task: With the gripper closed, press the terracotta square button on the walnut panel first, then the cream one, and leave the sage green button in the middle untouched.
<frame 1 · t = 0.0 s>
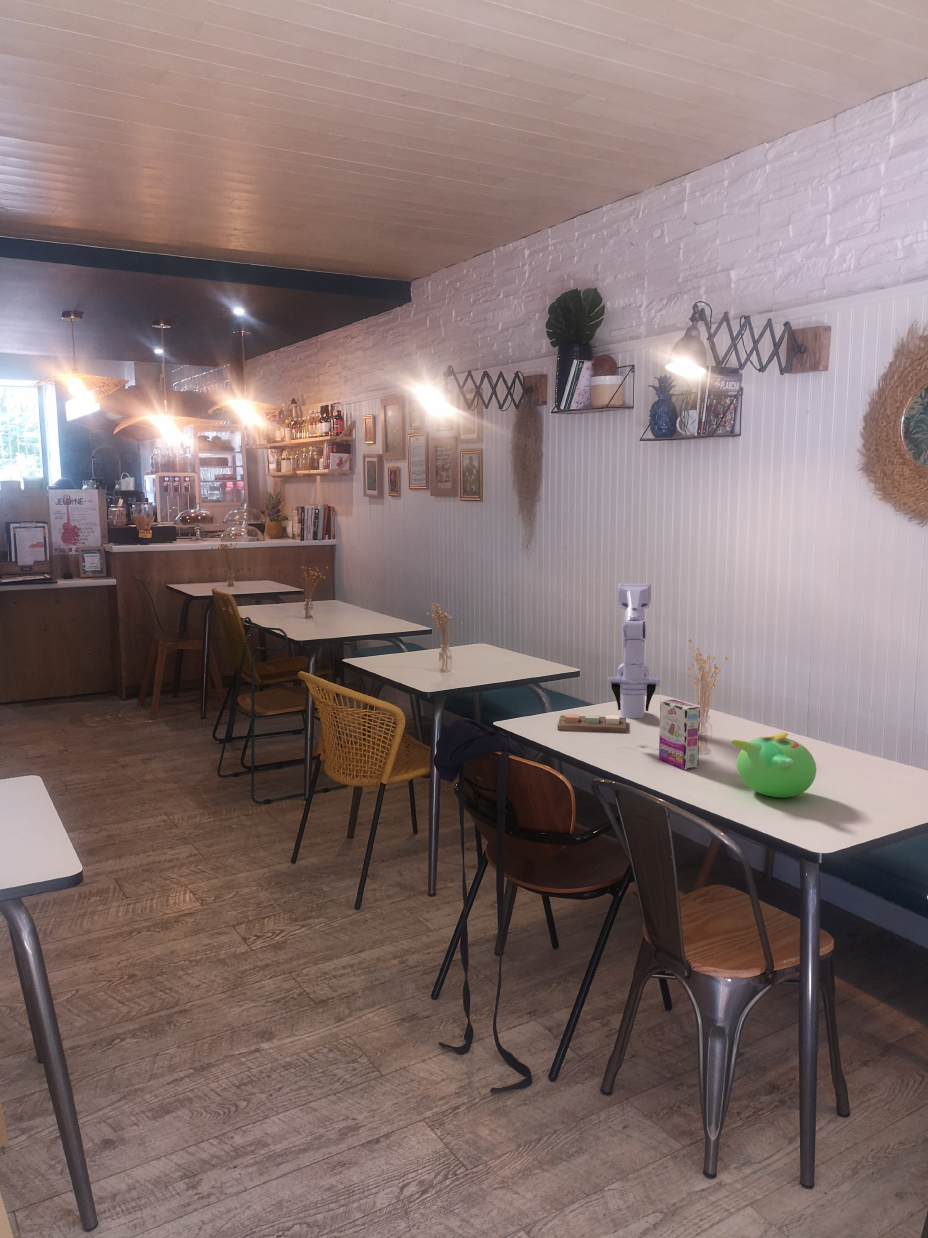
hand: (633, 709, 259), 10 cm above the table, tool pointing down, fingers open, 7 cm apart
terracotta button: (572, 720, 276), point 3 cm above the table, slide at 0.0 cm
button panel: (592, 731, 275), on the table
cream button: (612, 722, 274), point 3 cm above the table, slide at 0.0 cm
toy bird: (773, 796, 217), on the table
sage button: (592, 721, 275), point 3 cm above the table, slide at 0.0 cm
candy bar box: (678, 764, 242), on the table
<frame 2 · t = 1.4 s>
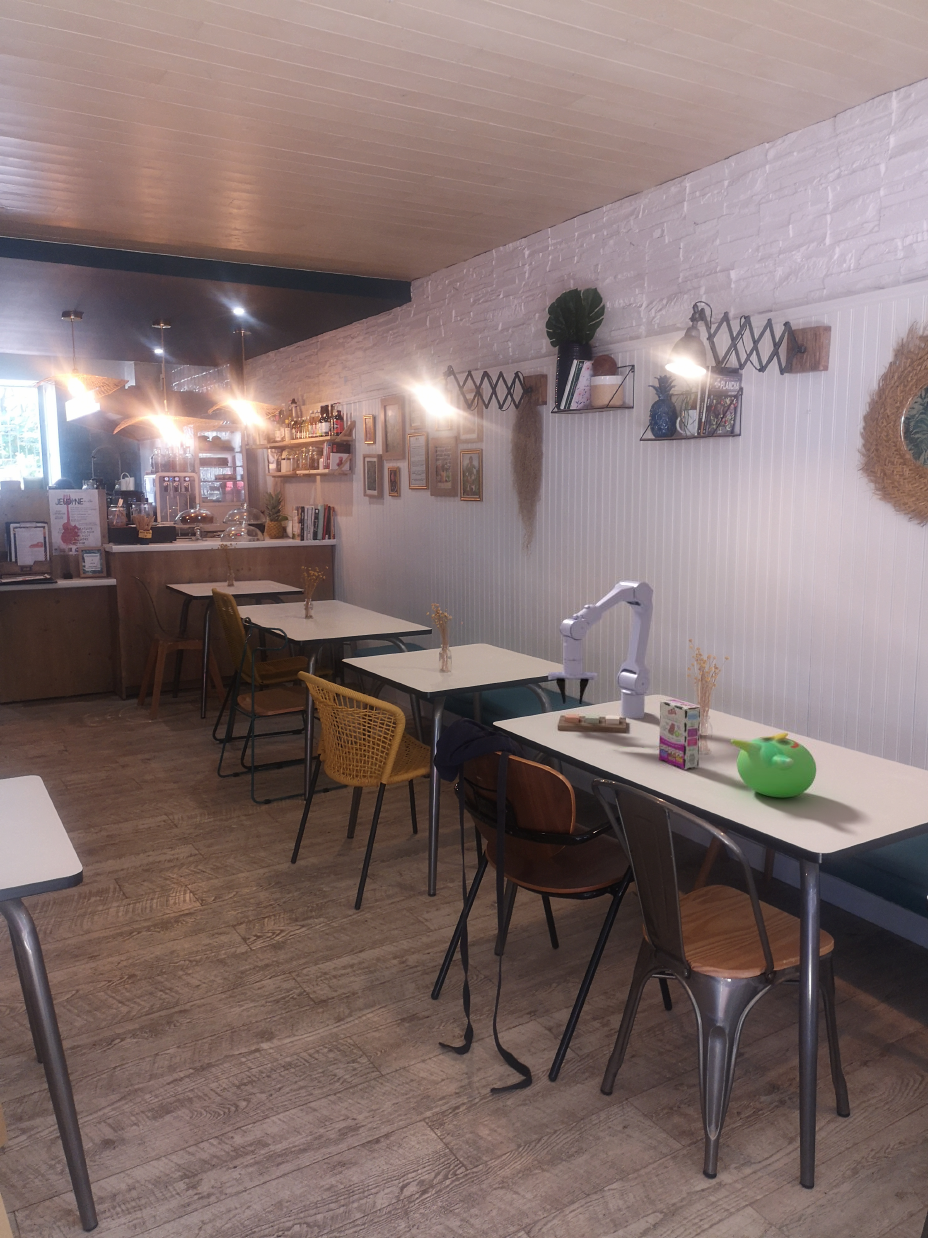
hand: (572, 703, 275), 8 cm above the table, tool pointing down, fingers open, 4 cm apart
nothing on the table moved.
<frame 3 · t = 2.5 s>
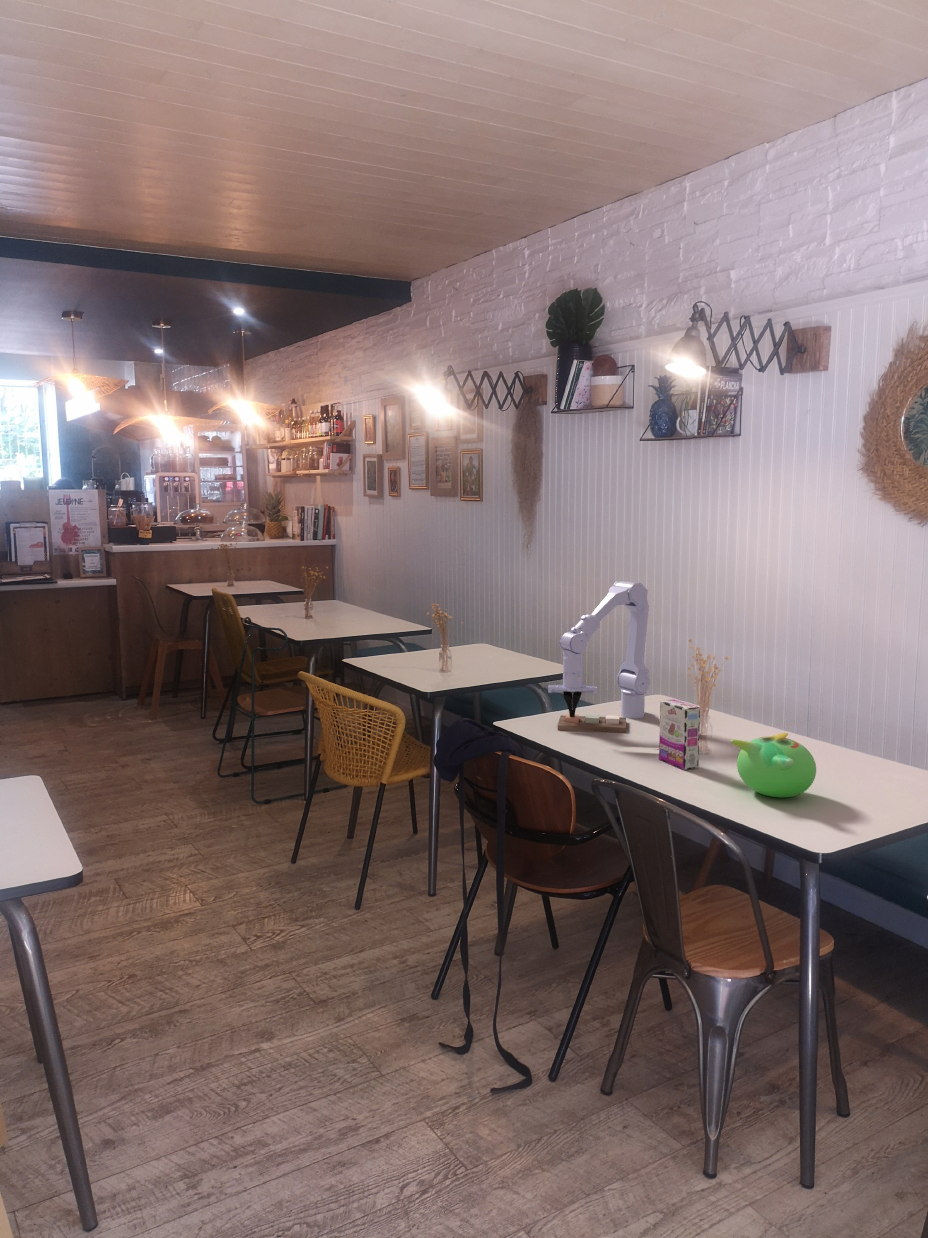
hand: (572, 716, 276), 4 cm above the table, tool pointing down, fingers closed, pressing on terracotta button
terracotta button: (572, 721, 276), point 3 cm above the table, slide at 0.1 cm, touching gripper
everything else where it was.
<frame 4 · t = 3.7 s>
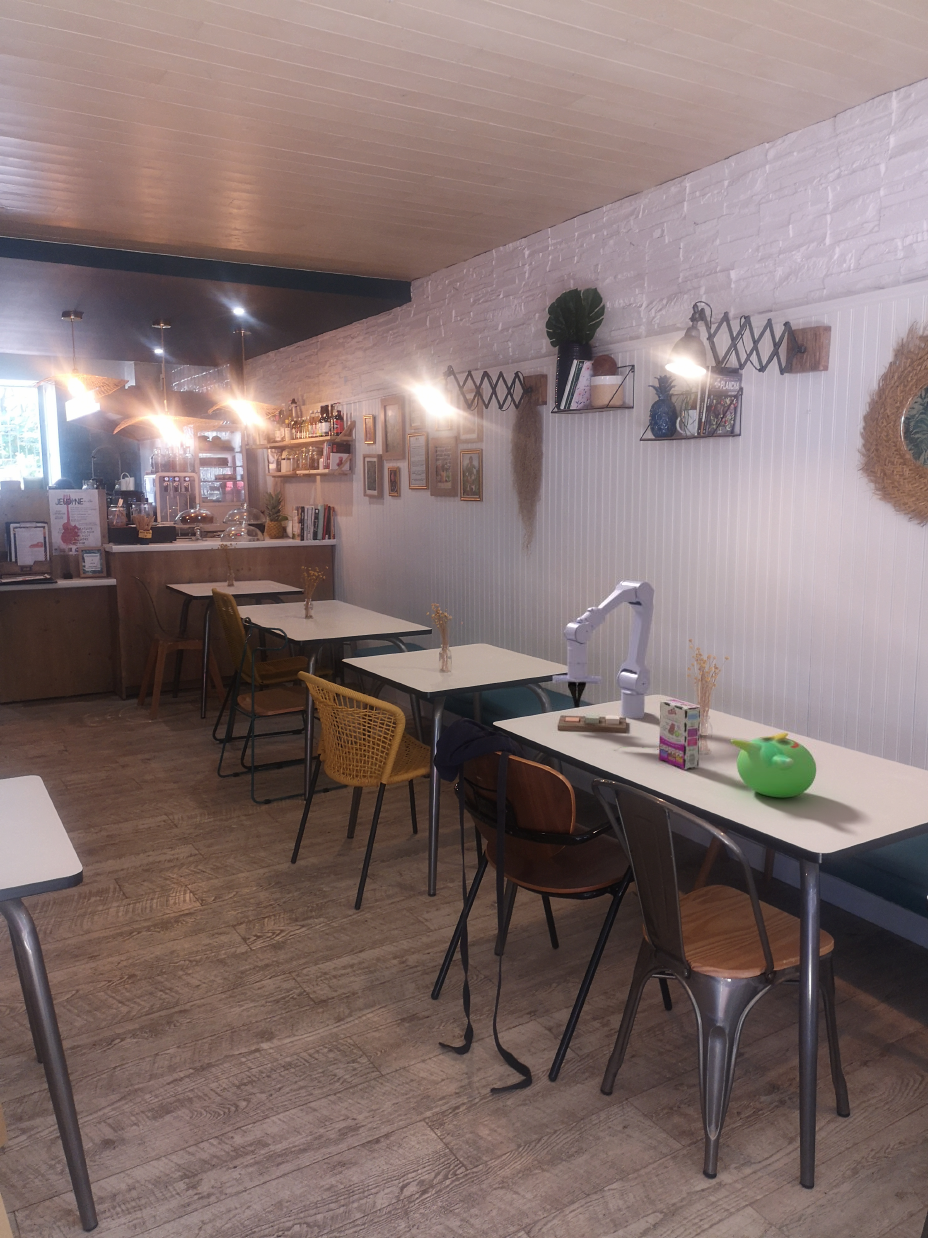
hand: (576, 706, 275), 7 cm above the table, tool pointing down, fingers closed
terracotta button: (572, 723, 276), point 2 cm above the table, slide at 1.0 cm
everything else where it was.
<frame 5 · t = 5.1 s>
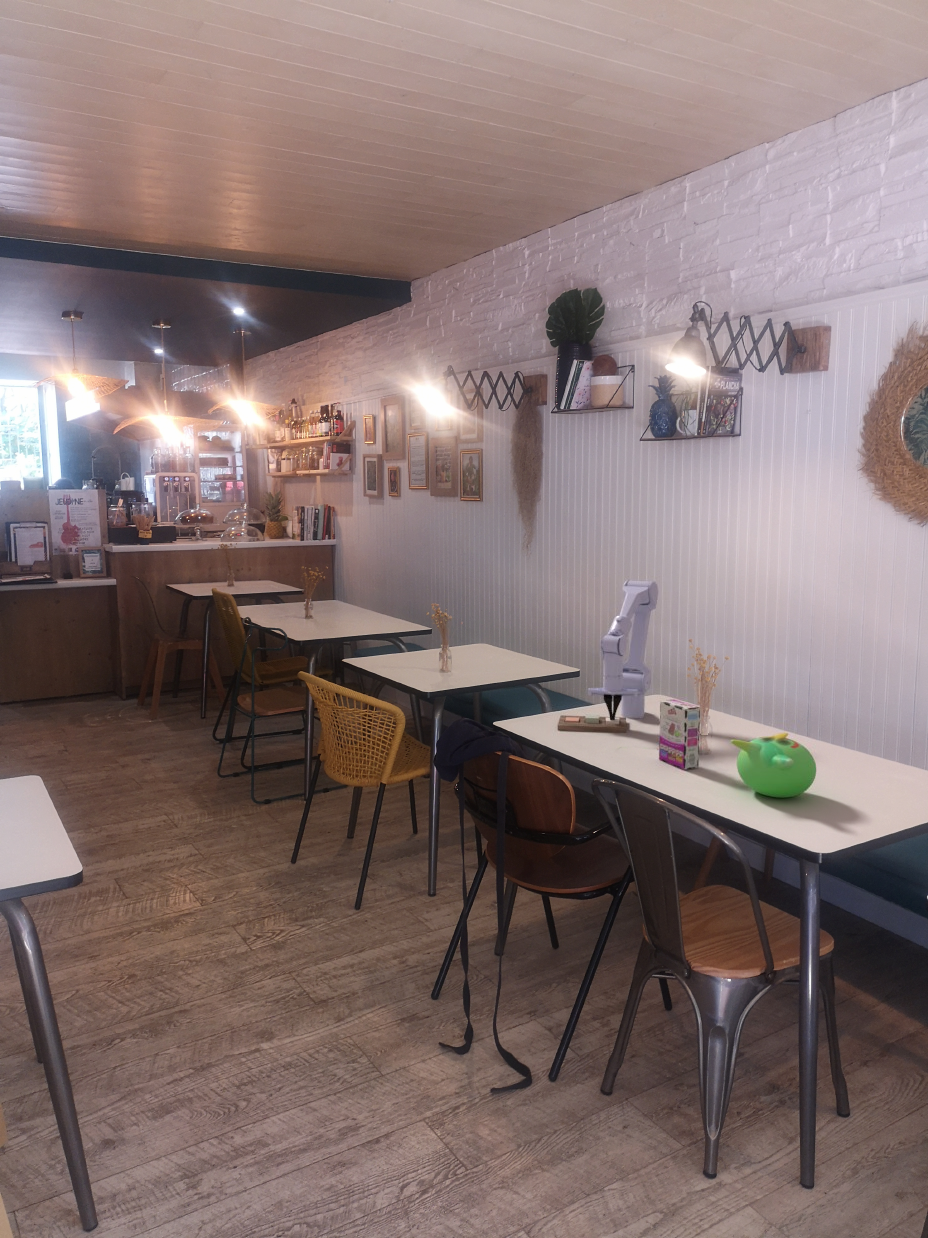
hand: (612, 719, 274), 4 cm above the table, tool pointing down, fingers closed, pressing on cream button
cream button: (612, 724, 274), point 2 cm above the table, slide at 0.7 cm, touching gripper
everything else where it was.
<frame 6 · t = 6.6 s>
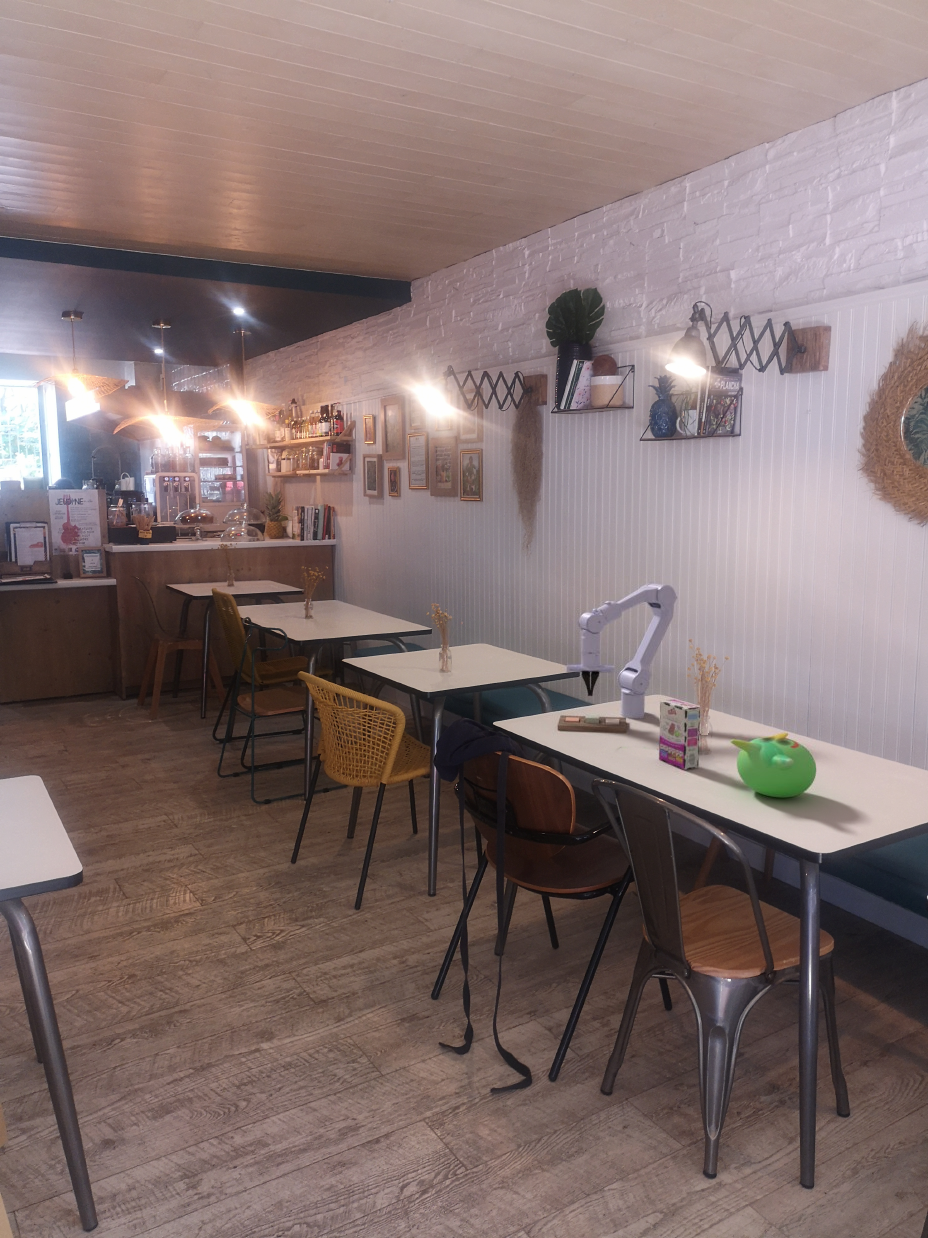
hand: (590, 695, 281), 9 cm above the table, tool pointing down, fingers closed
cream button: (612, 725, 274), point 2 cm above the table, slide at 1.0 cm
everything else where it was.
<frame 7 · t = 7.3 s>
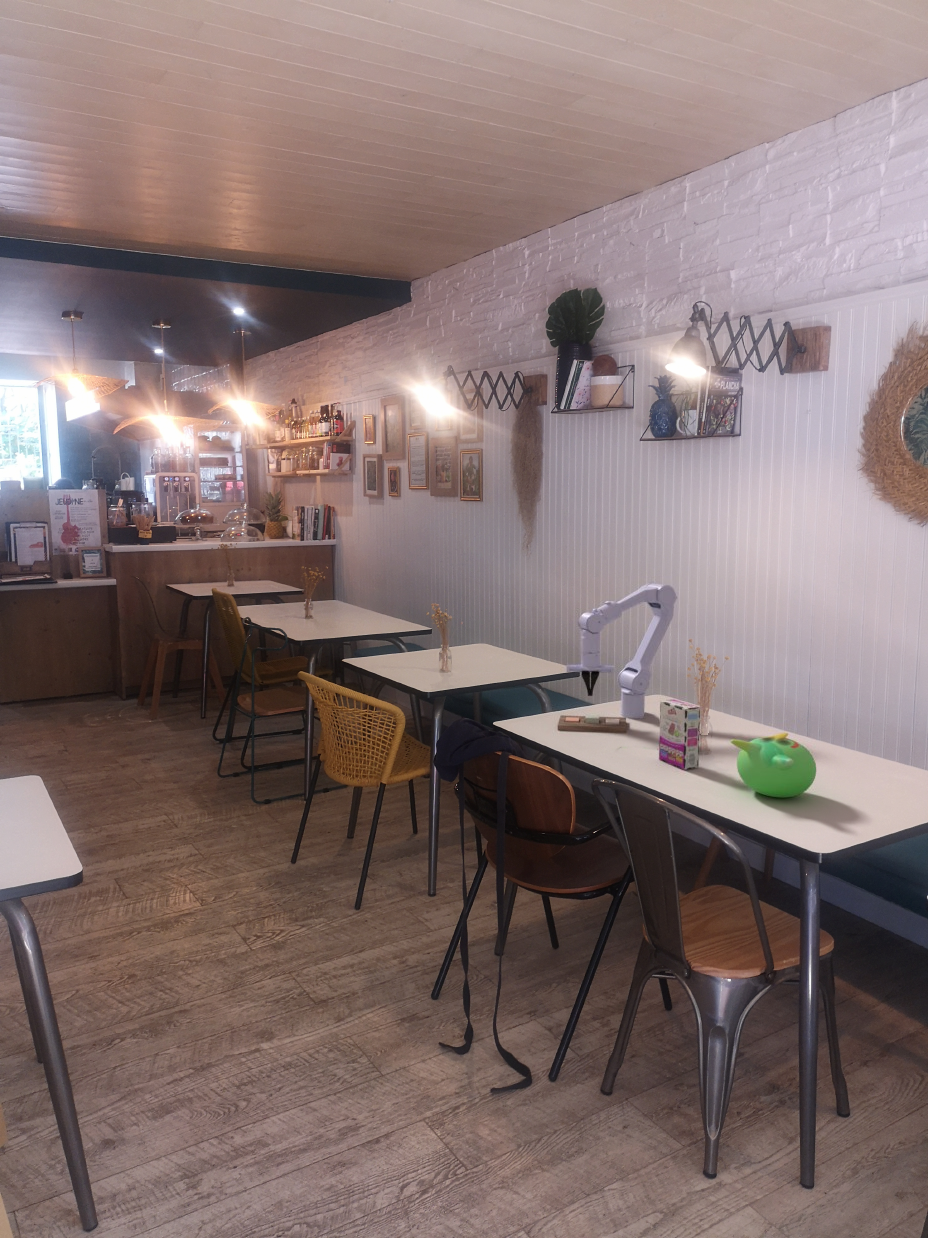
hand: (590, 695, 281), 9 cm above the table, tool pointing down, fingers closed
nothing on the table moved.
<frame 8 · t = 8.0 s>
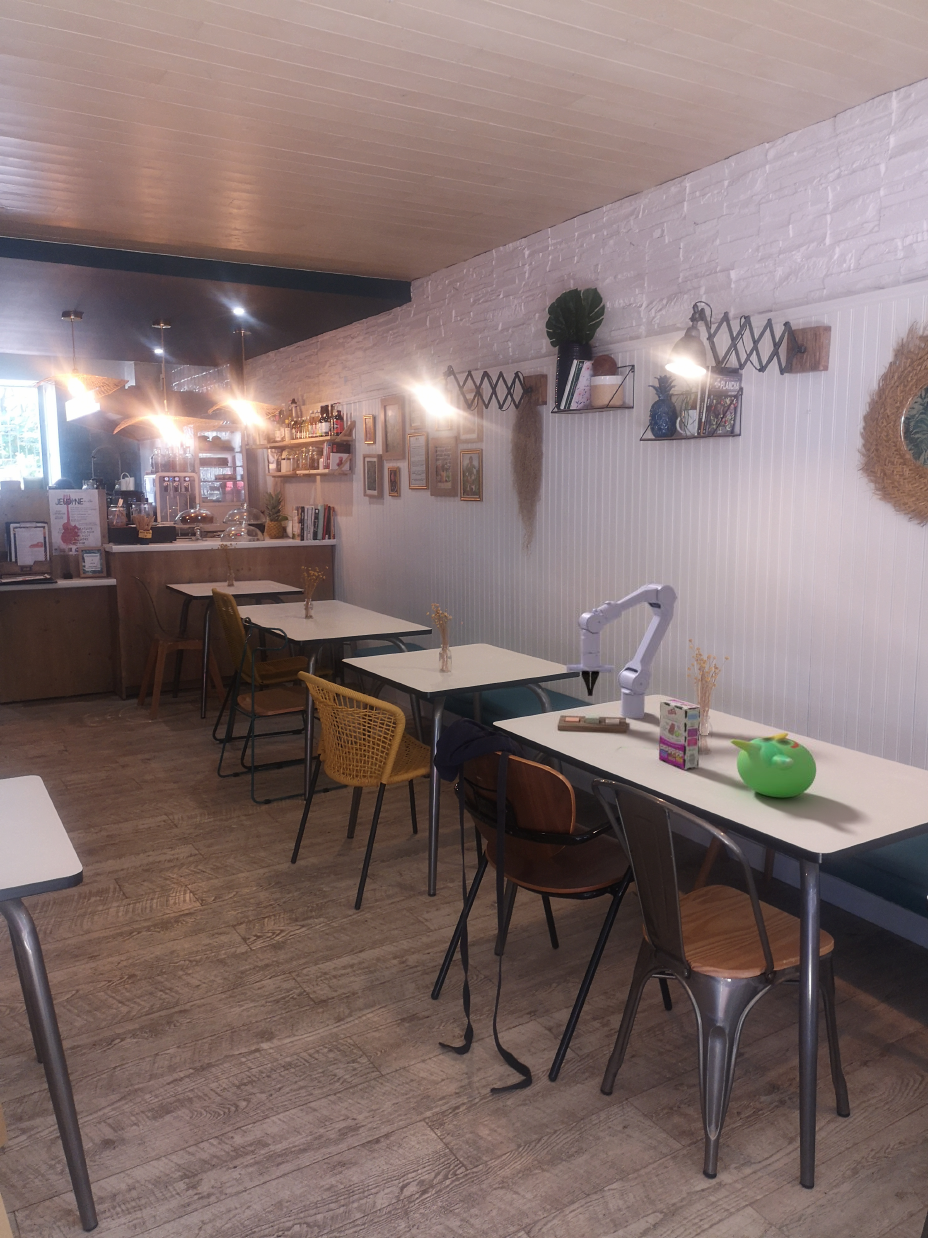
hand: (590, 695, 281), 9 cm above the table, tool pointing down, fingers closed
nothing on the table moved.
at the end: terracotta button slide at 1.0 cm; cream button slide at 1.0 cm; sage button slide at 0.0 cm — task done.
